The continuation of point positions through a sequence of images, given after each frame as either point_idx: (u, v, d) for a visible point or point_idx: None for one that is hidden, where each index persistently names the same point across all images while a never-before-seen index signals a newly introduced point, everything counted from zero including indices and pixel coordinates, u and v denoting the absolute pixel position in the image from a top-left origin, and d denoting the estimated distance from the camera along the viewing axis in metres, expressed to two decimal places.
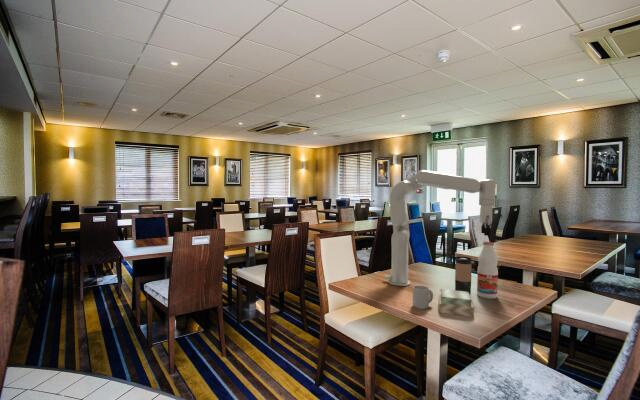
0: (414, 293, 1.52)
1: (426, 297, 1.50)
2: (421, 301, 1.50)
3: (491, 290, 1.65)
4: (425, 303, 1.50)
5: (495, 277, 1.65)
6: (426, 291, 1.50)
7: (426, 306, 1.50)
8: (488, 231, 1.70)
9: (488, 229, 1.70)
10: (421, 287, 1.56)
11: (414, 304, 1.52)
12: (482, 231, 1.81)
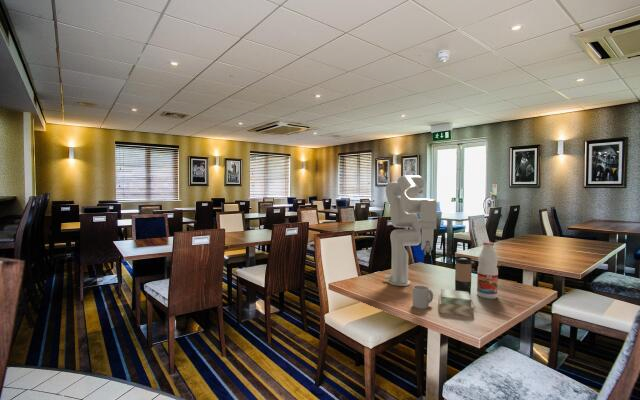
0: (414, 293, 1.52)
1: (426, 297, 1.50)
2: (421, 301, 1.50)
3: (491, 290, 1.65)
4: (425, 303, 1.50)
5: (495, 277, 1.65)
6: (426, 291, 1.50)
7: (426, 306, 1.50)
8: (428, 259, 1.48)
9: (428, 257, 1.48)
10: (421, 287, 1.56)
11: (414, 304, 1.52)
12: None
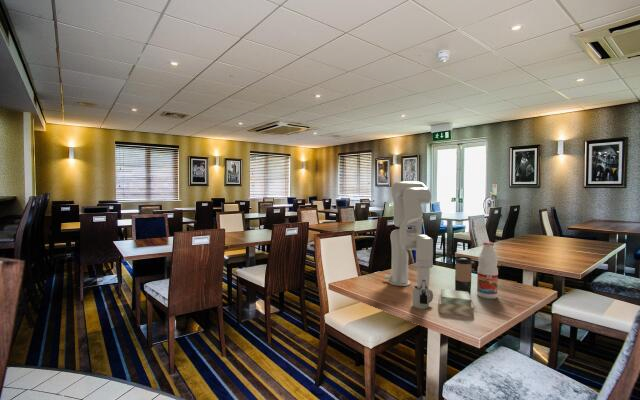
0: (414, 293, 1.52)
1: None
2: None
3: (491, 290, 1.65)
4: None
5: (495, 277, 1.65)
6: None
7: (426, 306, 1.50)
8: (424, 299, 1.48)
9: (424, 297, 1.48)
10: None
11: (414, 304, 1.52)
12: None
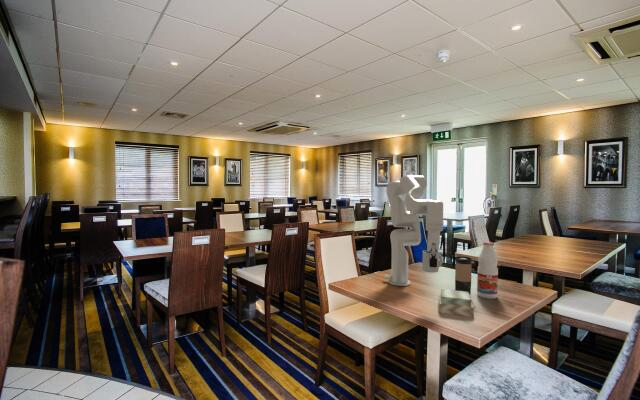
0: (424, 257, 1.51)
1: None
2: None
3: (491, 290, 1.65)
4: (435, 267, 1.49)
5: (495, 277, 1.65)
6: None
7: (436, 270, 1.49)
8: (434, 262, 1.47)
9: (433, 260, 1.47)
10: None
11: (424, 268, 1.51)
12: None
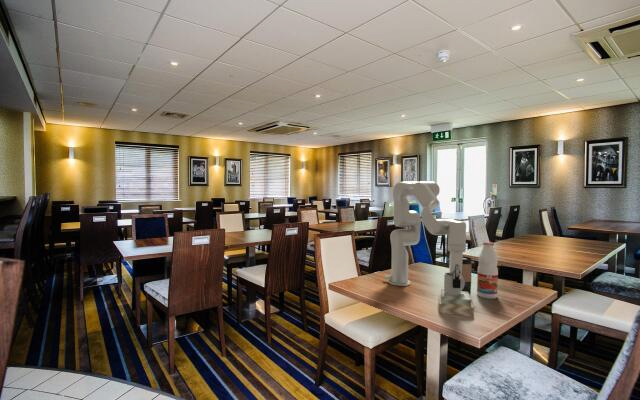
0: (446, 280, 1.49)
1: None
2: (454, 288, 1.47)
3: (491, 290, 1.65)
4: (458, 290, 1.47)
5: (495, 277, 1.65)
6: None
7: (459, 293, 1.47)
8: (457, 283, 1.44)
9: (457, 281, 1.44)
10: (452, 274, 1.53)
11: (446, 291, 1.49)
12: None
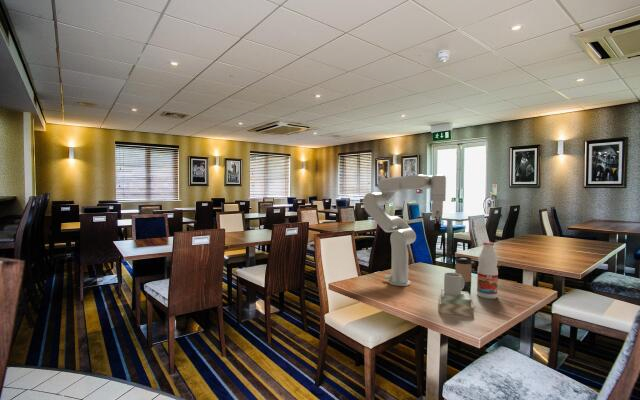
0: (446, 280, 1.49)
1: (459, 284, 1.47)
2: (454, 288, 1.47)
3: (491, 290, 1.65)
4: (458, 290, 1.47)
5: (495, 277, 1.65)
6: (459, 278, 1.47)
7: (459, 293, 1.47)
8: (438, 227, 1.69)
9: (438, 225, 1.69)
10: (452, 274, 1.53)
11: (446, 291, 1.49)
12: None
